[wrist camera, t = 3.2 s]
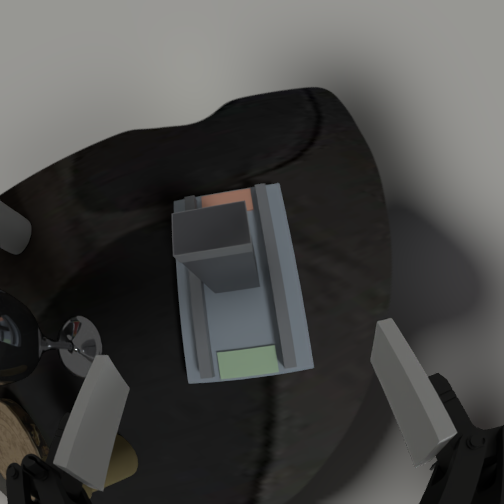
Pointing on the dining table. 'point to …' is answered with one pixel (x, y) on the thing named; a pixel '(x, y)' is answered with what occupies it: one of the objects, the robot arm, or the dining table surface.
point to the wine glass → (42, 342)
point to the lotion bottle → (13, 230)
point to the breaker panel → (246, 301)
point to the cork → (117, 464)
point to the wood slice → (18, 436)
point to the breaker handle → (216, 246)
